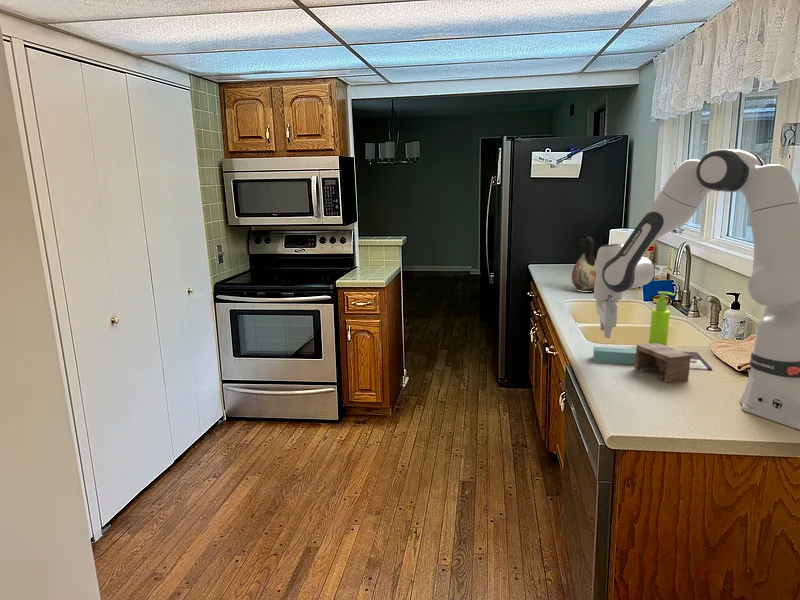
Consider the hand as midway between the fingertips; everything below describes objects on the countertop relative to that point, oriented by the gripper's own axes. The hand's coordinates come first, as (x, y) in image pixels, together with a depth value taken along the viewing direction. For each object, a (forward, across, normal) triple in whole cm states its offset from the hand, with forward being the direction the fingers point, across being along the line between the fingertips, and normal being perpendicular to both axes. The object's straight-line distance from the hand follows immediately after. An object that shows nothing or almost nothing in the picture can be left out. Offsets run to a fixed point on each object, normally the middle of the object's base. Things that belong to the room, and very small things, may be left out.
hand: (605, 333), depth 190 cm
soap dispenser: (+9, +21, -22) cm, 32 cm away
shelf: (+9, -12, -16) cm, 22 cm away
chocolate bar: (+10, +5, -28) cm, 30 cm away
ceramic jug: (+9, +120, -7) cm, 121 cm away
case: (+10, 0, -4) cm, 10 cm away
